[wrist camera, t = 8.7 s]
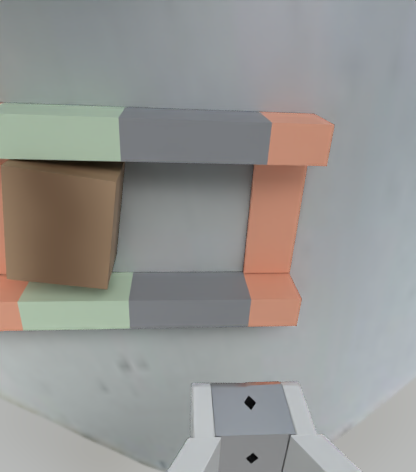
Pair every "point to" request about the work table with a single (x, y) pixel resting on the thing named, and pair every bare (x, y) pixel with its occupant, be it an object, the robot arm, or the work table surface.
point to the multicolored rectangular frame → (172, 151)
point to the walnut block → (61, 220)
